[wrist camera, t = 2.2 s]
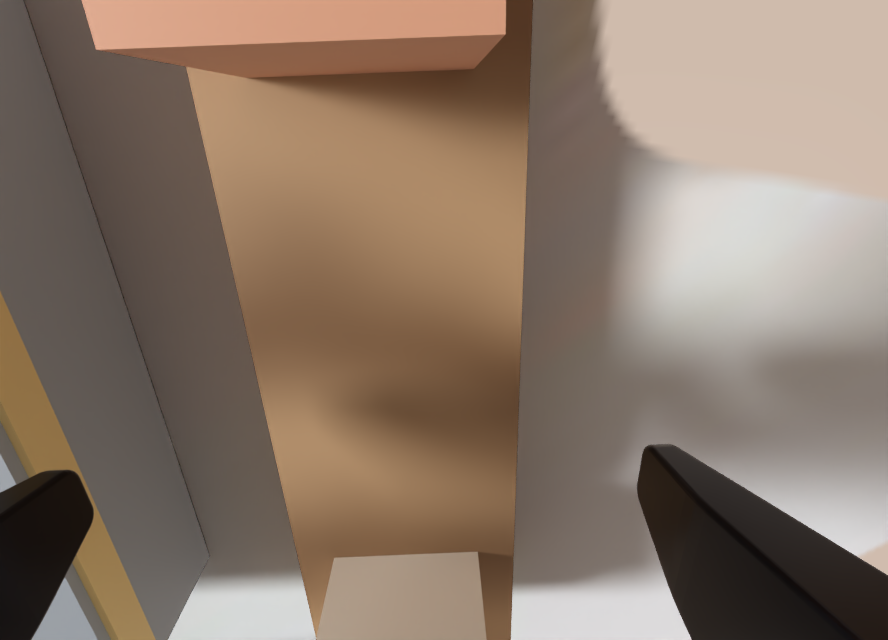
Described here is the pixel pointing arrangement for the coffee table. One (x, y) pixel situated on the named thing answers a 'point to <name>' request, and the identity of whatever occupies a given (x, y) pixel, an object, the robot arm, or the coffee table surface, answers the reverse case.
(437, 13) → the block
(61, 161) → the panel
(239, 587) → the coffee table surface
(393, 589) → the block
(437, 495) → the pallet
